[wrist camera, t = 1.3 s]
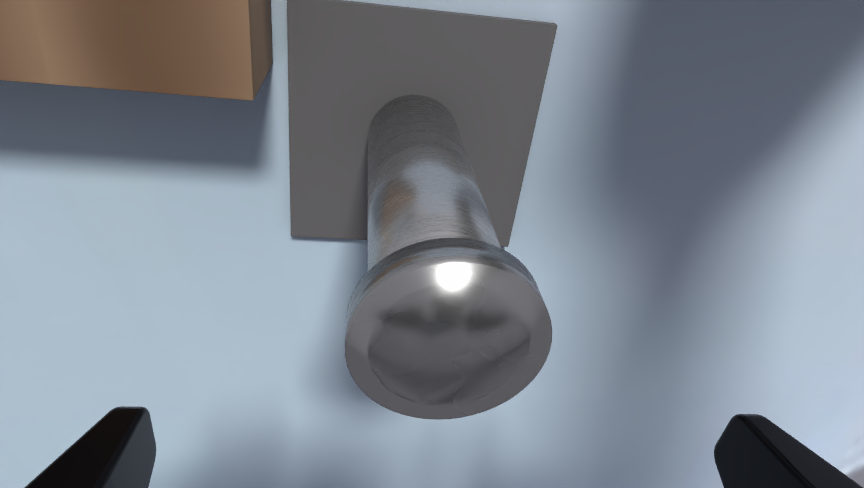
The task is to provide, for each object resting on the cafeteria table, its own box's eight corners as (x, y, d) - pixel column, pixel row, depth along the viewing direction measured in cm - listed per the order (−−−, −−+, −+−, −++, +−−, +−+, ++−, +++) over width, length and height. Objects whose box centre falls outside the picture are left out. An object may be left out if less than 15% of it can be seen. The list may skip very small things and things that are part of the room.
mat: (554, 23, 17) (557, 25, 17) (506, 242, 22) (507, 246, 21) (288, -6, 16) (286, -4, 16) (291, 231, 21) (291, 236, 20)
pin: (478, 87, 18) (574, 268, 10) (461, 193, 20) (528, 419, 12) (357, 77, 17) (349, 258, 9) (352, 187, 20) (341, 418, 11)
